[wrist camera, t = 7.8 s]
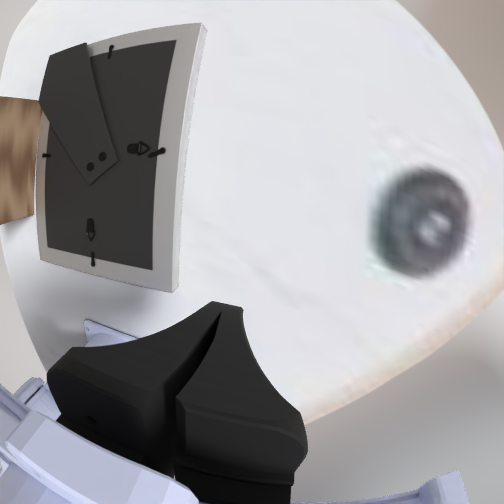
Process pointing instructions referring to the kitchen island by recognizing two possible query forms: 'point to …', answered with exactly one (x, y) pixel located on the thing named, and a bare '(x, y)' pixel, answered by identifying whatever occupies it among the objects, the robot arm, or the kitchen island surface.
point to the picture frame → (117, 154)
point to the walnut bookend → (18, 156)
